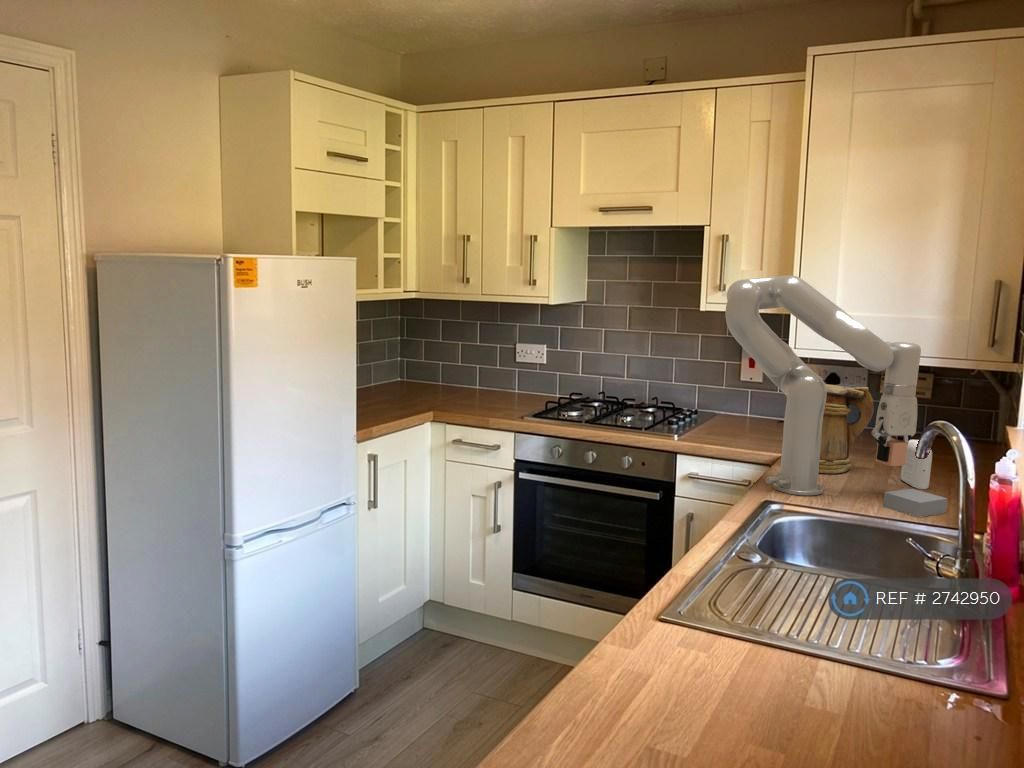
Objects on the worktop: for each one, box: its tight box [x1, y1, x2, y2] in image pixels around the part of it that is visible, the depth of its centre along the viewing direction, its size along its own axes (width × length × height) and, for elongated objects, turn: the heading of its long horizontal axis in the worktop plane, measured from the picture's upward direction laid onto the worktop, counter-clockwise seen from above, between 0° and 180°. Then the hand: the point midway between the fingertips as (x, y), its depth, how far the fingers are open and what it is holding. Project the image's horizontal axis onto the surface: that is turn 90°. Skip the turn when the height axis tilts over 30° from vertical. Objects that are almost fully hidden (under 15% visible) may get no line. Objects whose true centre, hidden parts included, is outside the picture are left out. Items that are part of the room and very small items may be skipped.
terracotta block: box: [874, 437, 908, 467], centre depth 219 cm, size 5×5×6 cm
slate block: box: [883, 488, 948, 518], centre depth 208 cm, size 10×10×4 cm
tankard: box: [818, 383, 875, 475], centre depth 248 cm, size 18×24×25 cm
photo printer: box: [900, 439, 933, 490], centre depth 232 cm, size 10×4×12 cm, turn 0°
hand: (890, 459), depth 219 cm, fingers closed on terracotta block, 5 cm apart
